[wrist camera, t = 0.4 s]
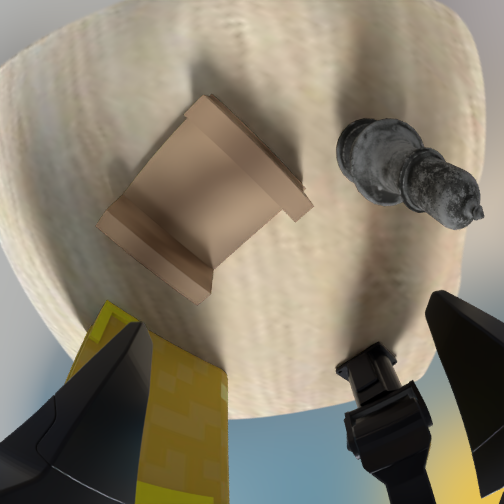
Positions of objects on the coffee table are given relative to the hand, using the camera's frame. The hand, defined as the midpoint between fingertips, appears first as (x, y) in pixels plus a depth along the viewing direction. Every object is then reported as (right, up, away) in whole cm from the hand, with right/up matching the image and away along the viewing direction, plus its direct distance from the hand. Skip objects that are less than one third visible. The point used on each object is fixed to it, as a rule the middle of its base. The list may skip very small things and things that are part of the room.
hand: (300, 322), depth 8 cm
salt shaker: (+7, +9, +11) cm, 16 cm away
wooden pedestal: (-5, +6, +12) cm, 14 cm away
